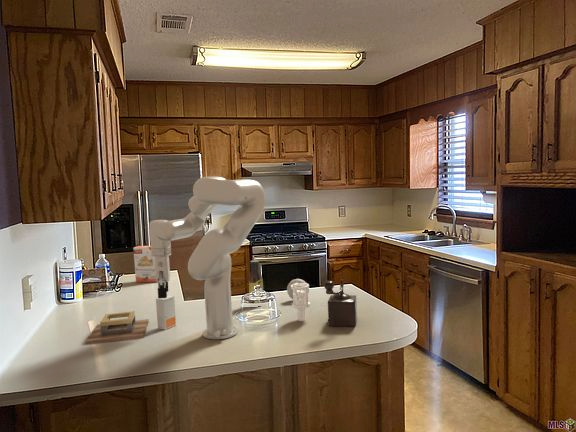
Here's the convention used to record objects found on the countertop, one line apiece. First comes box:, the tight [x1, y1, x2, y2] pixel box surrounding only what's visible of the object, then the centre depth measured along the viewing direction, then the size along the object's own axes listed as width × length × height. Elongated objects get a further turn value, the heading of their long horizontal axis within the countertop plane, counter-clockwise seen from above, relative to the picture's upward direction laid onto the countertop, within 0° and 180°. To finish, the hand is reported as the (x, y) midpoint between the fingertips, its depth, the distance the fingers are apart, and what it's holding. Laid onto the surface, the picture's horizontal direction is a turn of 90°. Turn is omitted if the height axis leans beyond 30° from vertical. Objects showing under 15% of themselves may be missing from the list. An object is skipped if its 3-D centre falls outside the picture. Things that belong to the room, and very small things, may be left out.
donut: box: [286, 278, 310, 300], centre depth 213 cm, size 10×4×10 cm, turn 86°
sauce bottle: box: [248, 259, 264, 294], centre depth 209 cm, size 6×6×20 cm
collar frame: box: [99, 311, 137, 335], centre depth 181 cm, size 11×11×5 cm
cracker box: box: [132, 245, 158, 283], centre depth 273 cm, size 14×6×21 cm, turn 80°
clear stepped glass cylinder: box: [291, 282, 311, 322], centre depth 184 cm, size 7×7×15 cm
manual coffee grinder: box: [323, 279, 358, 328], centre depth 175 cm, size 16×11×18 cm
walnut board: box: [85, 318, 150, 345], centre depth 181 cm, size 20×20×1 cm
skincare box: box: [155, 295, 177, 330], centre depth 184 cm, size 6×4×12 cm
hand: (163, 294), depth 184 cm, fingers open, 9 cm apart
